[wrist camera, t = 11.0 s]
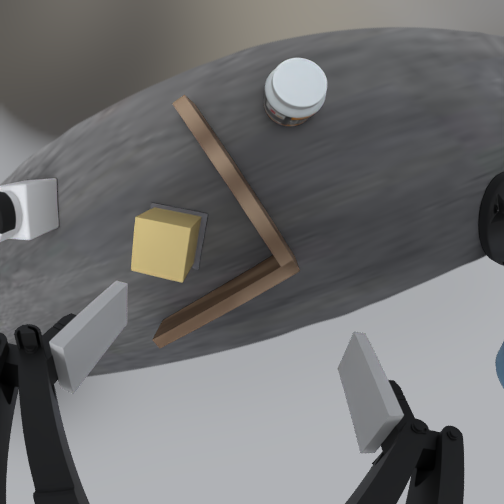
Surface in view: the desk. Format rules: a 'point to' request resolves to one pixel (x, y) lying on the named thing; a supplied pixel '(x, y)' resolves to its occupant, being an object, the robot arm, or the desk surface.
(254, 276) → the angled wooden barrier
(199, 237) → the mat
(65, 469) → the robot arm
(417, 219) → the desk surface
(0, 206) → the medicine bottle
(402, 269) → the desk surface
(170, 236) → the cube
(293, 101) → the pill bottle
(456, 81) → the desk surface
